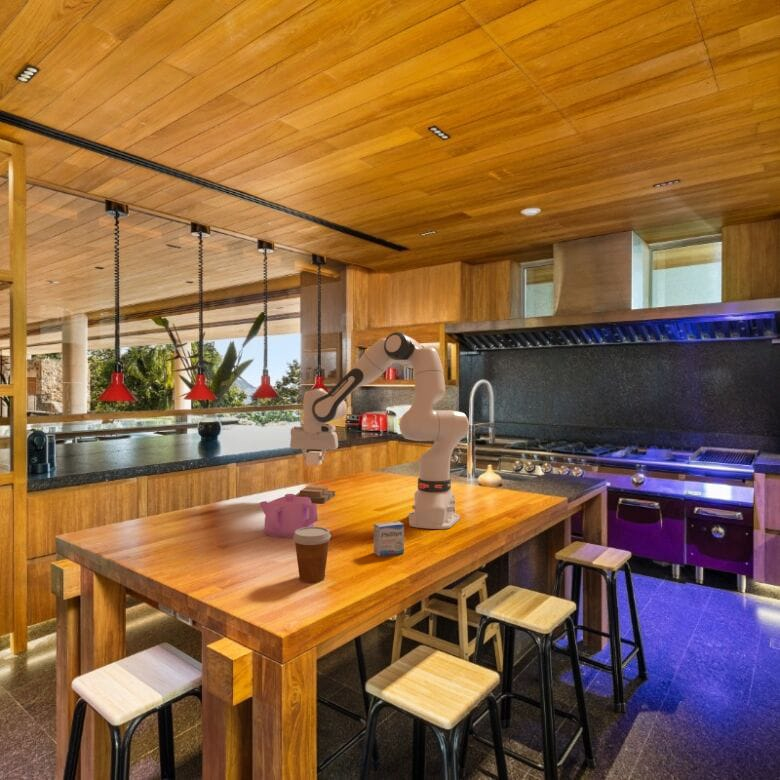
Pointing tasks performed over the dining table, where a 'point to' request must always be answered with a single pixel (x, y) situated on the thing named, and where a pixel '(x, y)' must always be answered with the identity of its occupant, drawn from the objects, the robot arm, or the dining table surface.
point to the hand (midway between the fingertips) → (314, 459)
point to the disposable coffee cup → (312, 552)
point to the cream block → (313, 458)
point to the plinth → (319, 499)
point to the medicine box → (388, 538)
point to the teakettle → (288, 515)
